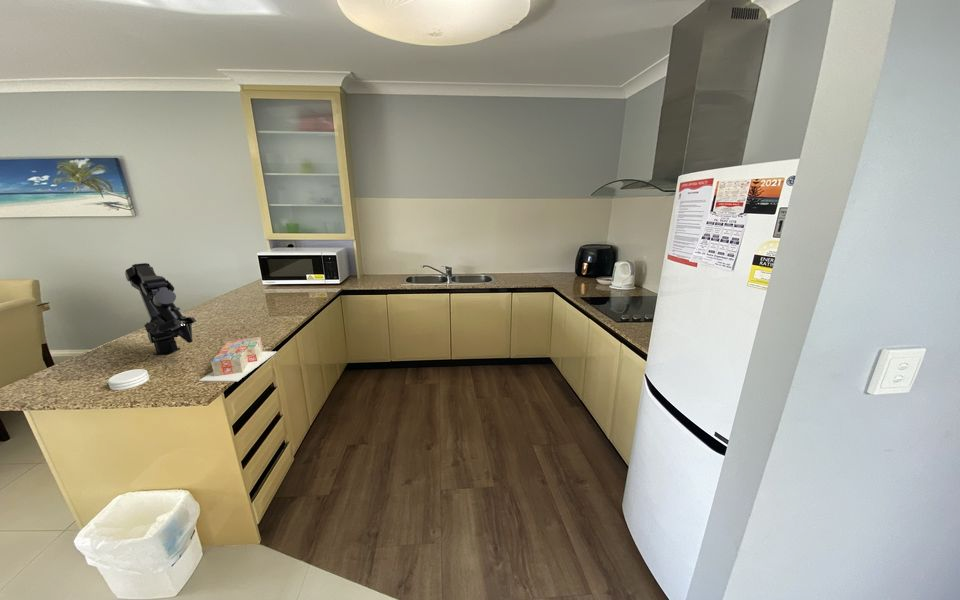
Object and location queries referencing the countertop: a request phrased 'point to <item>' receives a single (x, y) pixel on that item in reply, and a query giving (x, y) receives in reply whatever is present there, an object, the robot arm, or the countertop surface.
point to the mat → (237, 376)
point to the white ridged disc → (128, 379)
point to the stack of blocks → (236, 356)
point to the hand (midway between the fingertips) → (190, 342)
